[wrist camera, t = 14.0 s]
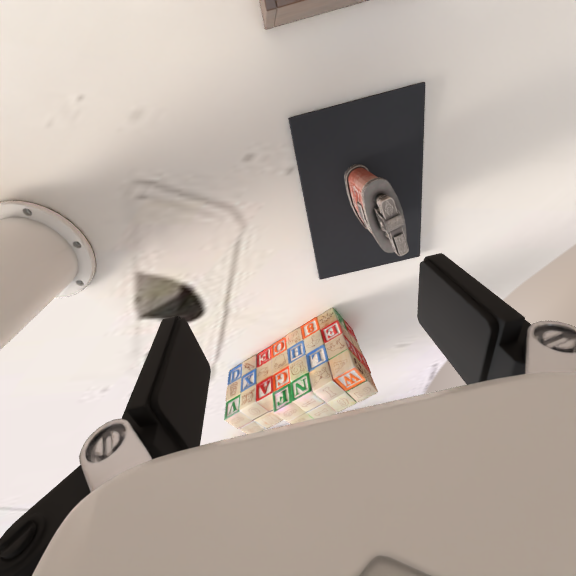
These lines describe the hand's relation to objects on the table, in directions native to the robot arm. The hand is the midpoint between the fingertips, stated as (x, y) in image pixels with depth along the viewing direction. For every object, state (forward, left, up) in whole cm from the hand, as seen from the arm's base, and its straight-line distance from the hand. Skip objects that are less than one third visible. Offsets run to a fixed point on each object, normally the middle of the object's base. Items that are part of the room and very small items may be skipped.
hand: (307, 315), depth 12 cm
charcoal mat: (+10, -5, -26) cm, 28 cm away
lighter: (+10, -5, -26) cm, 28 cm away
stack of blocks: (-5, -27, -26) cm, 38 cm away
